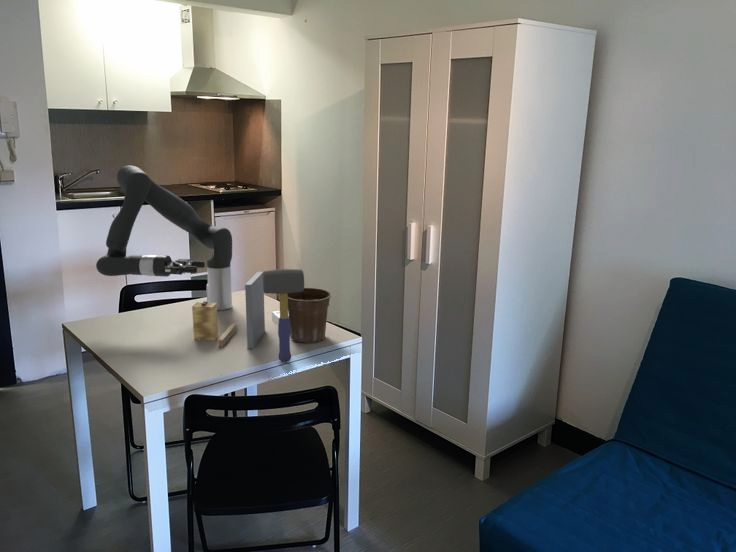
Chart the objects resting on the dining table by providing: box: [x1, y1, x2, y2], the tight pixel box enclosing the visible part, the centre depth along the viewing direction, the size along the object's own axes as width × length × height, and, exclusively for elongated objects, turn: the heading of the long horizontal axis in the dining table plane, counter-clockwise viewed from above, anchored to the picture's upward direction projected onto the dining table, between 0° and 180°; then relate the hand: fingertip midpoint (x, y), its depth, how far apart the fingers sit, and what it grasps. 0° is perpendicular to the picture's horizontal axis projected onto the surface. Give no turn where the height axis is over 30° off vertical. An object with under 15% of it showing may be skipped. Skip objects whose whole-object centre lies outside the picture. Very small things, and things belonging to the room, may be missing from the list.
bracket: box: [271, 310, 289, 326], centre depth 226 cm, size 13×7×8 cm, turn 27°
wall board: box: [217, 271, 266, 349], centre depth 208 cm, size 12×18×22 cm, turn 177°
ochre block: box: [191, 300, 219, 341], centre depth 209 cm, size 7×5×13 cm
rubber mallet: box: [262, 268, 305, 364], centre depth 187 cm, size 12×8×30 cm, turn 104°
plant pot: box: [288, 287, 332, 344], centre depth 210 cm, size 16×16×16 cm
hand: (200, 267), depth 213 cm, fingers open, 8 cm apart
